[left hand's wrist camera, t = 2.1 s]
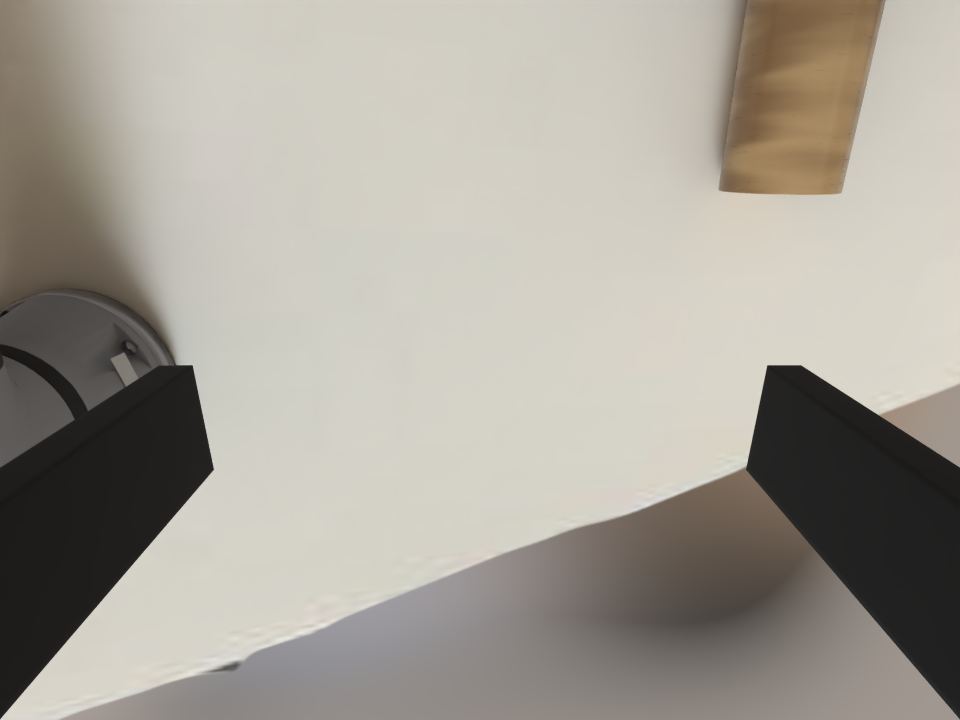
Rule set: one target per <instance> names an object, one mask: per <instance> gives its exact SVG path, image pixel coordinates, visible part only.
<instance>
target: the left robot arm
mask: <svg viewBox="0 0 960 720" xmlns="http://www.w3.org/2000/svg"><path fill="white" fill-rule="evenodd" d="M213 470H214V468H213V463H212V458H211V453H210V448H209V444H208V439H207V434H206V429H205V424H204V419H203V414H202V409H201V404H200V400H199V395H198V390H197V385H196V380H195V375H194V370H193V365H174V363H173V361H172V358H171V356H170V354H169V352H168V350H167V348H166V346H165V345H164V343H163V342H162V340H161V339H160V338H159V336H158V335H157V334H156V332H155V331H154V330H153V329H152V328H151V327H150V326H149V325H148V324H147V323H146V322H145V321H144V320H143V319H142V318H140V317H139V316H138V315H137V314H136V313H134V312H133V311H131V310H130V309H128V308H127V307H125V306H123V305H122V304H120V303H118V302H116V301H114V300H112V299H110V298H107V297H105V296H102V295H99V294H96V293H92V292H88V291H83V290H75V289H58V290H51V291H46V292H42V293H39V294H36V295H33V296H29V297H26V298H23V299H20V300H18V301H15V302H13V303H12V304H10V305H8V306H7V307H5V308H4V309H3V310H2V311H0V719H1V718H2V716H3V715H4V714H5V713H6V712H7V711H8V709H9V708H10V707H11V706H12V705H13V704H14V702H15V701H16V700H17V699H18V698H19V697H20V695H21V694H22V693H23V692H24V691H25V690H26V688H27V687H28V686H29V685H30V684H31V683H32V681H33V680H34V679H35V678H36V677H37V676H38V674H39V673H40V672H41V671H42V670H43V669H44V667H45V666H46V665H47V664H48V663H49V662H50V660H51V659H52V658H53V657H54V656H55V655H56V653H57V652H58V651H59V650H60V649H61V648H62V646H63V645H64V644H65V643H66V642H67V641H68V639H69V638H70V637H71V636H72V635H73V633H74V632H75V631H76V630H77V629H78V628H79V626H80V625H81V624H82V623H83V622H84V621H85V619H86V618H87V617H88V616H89V615H90V614H91V612H92V611H93V610H94V609H95V608H96V607H97V605H98V604H99V603H100V602H101V601H102V600H103V598H104V597H105V596H106V595H107V594H108V593H109V591H110V590H111V589H112V588H113V587H114V586H115V584H116V583H117V582H118V581H119V580H120V579H121V577H122V576H123V575H124V574H125V573H126V572H127V570H128V569H129V568H130V567H131V566H132V565H133V563H134V562H135V561H136V560H137V559H138V558H139V556H140V555H141V554H142V553H143V552H144V551H145V549H146V548H147V547H148V546H149V545H150V544H151V542H152V541H153V540H154V539H155V538H156V537H157V535H158V534H159V533H160V532H161V531H162V530H163V528H164V527H165V526H166V525H167V524H168V523H169V521H170V520H171V519H172V518H173V517H174V516H175V514H176V513H177V512H178V511H179V510H180V509H181V507H182V506H183V505H184V504H185V503H186V502H187V500H188V499H189V498H190V497H191V496H192V495H193V493H194V492H195V491H196V490H197V489H198V488H199V486H200V485H201V484H202V483H203V482H204V481H205V479H206V478H207V477H208V476H209V475H210V474H211V472H212V471H213ZM746 470H747V471H748V472H749V474H750V475H751V476H752V477H753V478H754V479H755V481H756V482H757V483H758V484H759V485H760V486H761V488H762V489H763V490H764V491H765V492H766V493H767V494H768V496H769V497H770V498H771V499H772V500H773V502H774V503H775V504H776V505H777V506H778V507H779V509H780V510H781V511H782V512H783V513H784V514H785V516H786V517H787V518H788V519H789V520H790V521H791V523H792V524H793V525H794V526H795V527H796V528H797V530H798V531H799V532H800V533H801V534H802V535H803V537H804V538H805V539H806V540H807V541H808V542H809V544H810V545H811V546H812V547H813V548H814V549H815V551H816V552H817V553H818V554H819V555H820V556H821V558H822V559H823V560H824V561H825V562H826V563H827V565H828V566H829V567H830V568H831V569H832V570H833V572H834V573H835V574H836V575H837V576H838V577H839V579H840V580H841V581H842V582H843V583H844V584H845V586H846V587H847V588H848V589H849V590H850V591H851V593H852V594H853V595H854V596H855V597H856V598H857V600H858V601H859V602H860V603H861V604H862V605H863V607H864V608H865V609H866V610H867V611H868V612H869V614H870V615H871V616H872V617H873V618H874V619H875V621H876V622H877V623H878V624H879V625H880V626H881V628H882V629H883V630H884V631H885V632H886V633H887V635H888V636H889V637H890V638H891V639H892V641H893V642H894V643H895V644H896V645H897V646H898V648H899V649H900V650H901V651H902V652H903V653H904V654H905V656H906V657H907V658H908V659H909V660H910V661H911V663H912V664H913V665H914V666H915V667H916V669H917V670H918V671H919V672H920V673H921V674H922V676H923V677H924V678H925V679H926V680H927V681H928V683H929V684H930V685H931V686H932V687H933V688H934V690H935V691H936V692H937V693H938V694H939V695H940V696H941V698H942V699H943V700H944V701H945V702H946V704H947V705H948V706H949V707H950V708H951V709H952V710H953V712H954V713H955V714H956V715H957V716H958V718H959V719H960V467H958V466H957V465H955V464H953V463H952V462H950V461H949V460H947V459H946V458H944V457H942V456H941V455H939V454H938V453H936V452H935V451H933V450H932V449H930V448H929V447H927V446H925V445H924V444H922V443H921V442H919V441H918V440H916V439H915V438H913V437H911V436H910V435H908V434H907V433H905V432H904V431H902V430H901V429H899V428H897V427H896V426H894V425H893V424H891V423H890V422H888V421H887V420H885V419H883V418H882V417H880V416H879V415H877V414H876V413H874V412H873V411H871V410H869V409H868V408H866V407H865V406H863V405H862V404H860V403H859V402H857V401H855V400H854V399H852V398H851V397H849V396H848V395H846V394H845V393H843V392H841V391H840V390H838V389H837V388H835V387H834V386H832V385H831V384H829V383H828V382H826V381H824V380H823V379H821V378H820V377H818V376H817V375H815V374H814V373H812V372H810V371H809V370H807V369H806V368H804V367H803V366H801V365H767V370H766V375H765V380H764V385H763V390H762V395H761V400H760V404H759V409H758V414H757V419H756V424H755V429H754V434H753V439H752V444H751V448H750V453H749V458H748V463H747V468H746Z"/></svg>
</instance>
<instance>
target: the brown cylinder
mask: <svg viewBox="0 0 960 720" xmlns="http://www.w3.org/2000/svg"><path fill="white" fill-rule="evenodd" d="M885 1H886V0H747V4H746V10H745V17H744V24H743V30H742V37H741V44H740V50H739V57H738V64H737V70H736V77H735V83H734V90H733V97H732V103H731V110H730V117H729V123H728V130H727V137H726V143H725V150H724V156H723V163H722V170H721V176H720V183H719V191H724V192H735V193H752V194H782V195H829V194H840V193H841V192H842V189H843V184H844V180H845V176H846V171H847V167H848V162H849V158H850V154H851V149H852V145H853V141H854V136H855V132H856V127H857V123H858V119H859V114H860V110H861V106H862V101H863V97H864V92H865V88H866V84H867V79H868V75H869V71H870V66H871V62H872V58H873V53H874V49H875V44H876V40H877V36H878V31H879V27H880V23H881V18H882V14H883V9H884V5H885Z"/></svg>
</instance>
